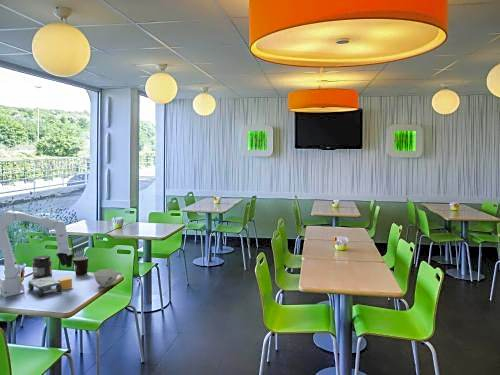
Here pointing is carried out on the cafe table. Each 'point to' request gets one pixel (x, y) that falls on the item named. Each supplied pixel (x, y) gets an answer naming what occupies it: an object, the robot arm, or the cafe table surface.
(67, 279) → the chock
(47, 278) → the trolley
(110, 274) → the teacup
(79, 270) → the coffee mug
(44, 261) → the supplement container
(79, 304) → the cafe table surface
